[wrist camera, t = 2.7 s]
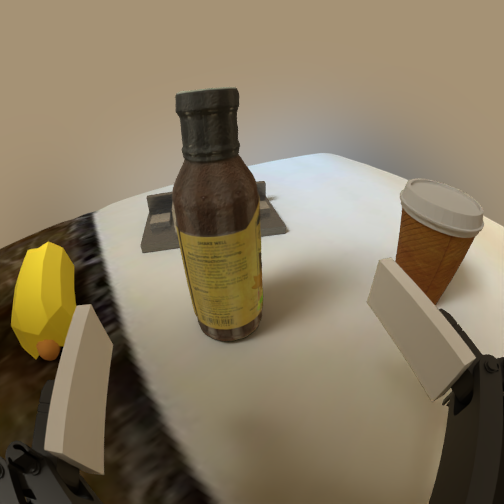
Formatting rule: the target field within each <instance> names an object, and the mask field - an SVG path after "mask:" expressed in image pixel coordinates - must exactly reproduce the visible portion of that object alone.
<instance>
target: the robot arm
mask: <svg viewBox="0 0 504 504" xmlns="http://www.w3.org/2000/svg"><path fill="white" fill-rule="evenodd" d="M367 303H368V305H369V306H370V307H371V309H372V310H373V312H374V313H375V315H376V316H377V317H378V319H379V320H380V322H381V323H382V325H383V326H384V328H385V329H386V331H387V332H388V333H389V335H390V336H391V338H392V339H393V341H394V342H395V344H396V345H397V347H398V348H399V350H400V352H401V353H402V355H403V356H404V358H405V359H406V361H407V362H408V364H409V365H410V367H411V369H412V370H413V372H414V373H415V375H416V377H417V378H418V380H419V381H420V383H421V385H422V386H423V388H424V390H425V391H426V393H427V395H428V396H429V398H430V400H431V401H432V402H433V401H435V400H436V399H438V398H440V397H441V396H443V395H444V394H445V393H446V392H447V391H448V390H449V389H450V388H451V389H452V392H451V393H450V394H449V395H448V396H447V397H446V398H445V399H444V400H443V403H442V405H445V404H446V403H447V402H448V401H449V400H450V401H449V402H448V404H447V405H446V406H449V411H448V419H447V427H446V433H445V440H444V445H443V450H442V455H441V460H440V465H439V469H438V473H437V477H436V481H435V484H434V488H433V491H432V495H431V498H430V501H429V504H504V357H502V358H497V359H496V358H495V357H494V356H492V355H482V354H481V352H480V351H479V350H478V349H477V347H476V346H475V345H474V343H473V342H472V341H471V339H470V338H469V337H468V336H467V334H466V333H465V332H464V331H462V328H461V327H460V326H459V324H457V322H456V321H455V320H454V318H453V317H452V316H451V315H450V314H449V313H447V312H446V311H444V310H443V309H439V310H438V309H437V307H436V306H435V305H434V304H433V303H432V302H431V300H430V299H429V298H428V297H427V296H426V295H425V294H424V292H423V291H422V290H421V289H420V288H419V287H418V286H417V285H416V284H415V282H414V281H413V280H412V279H411V278H410V277H409V276H408V275H407V274H406V273H405V272H404V271H403V270H402V268H401V267H400V266H399V265H398V264H397V263H396V262H395V261H394V260H393V259H392V258H387V259H382V260H379V262H378V266H377V270H376V273H375V277H374V280H373V284H372V287H371V290H370V294H369V297H368V300H367ZM112 349H113V344H112V342H111V340H110V339H109V337H108V335H107V333H106V332H105V330H104V328H103V326H102V324H101V322H100V321H99V319H98V317H97V315H96V313H95V311H94V309H93V307H92V305H91V304H88V305H78V306H76V309H75V312H74V315H73V318H72V321H71V324H70V327H69V330H68V333H67V337H66V340H65V344H64V347H63V351H62V354H61V358H60V362H59V366H58V370H57V374H56V379H55V380H47V382H46V384H45V385H44V387H43V389H42V391H41V396H40V400H39V402H40V404H39V405H38V413H37V416H36V422H35V429H34V436H33V444H32V448H30V447H29V446H27V445H26V444H24V443H22V442H21V441H14V442H12V443H11V444H10V445H9V446H8V448H7V451H6V460H5V459H4V458H2V457H0V504H103V503H102V502H101V501H100V499H99V498H98V497H97V496H96V494H95V493H94V492H93V491H92V489H91V488H90V487H89V485H88V484H87V483H86V481H85V480H84V478H83V477H82V476H81V475H80V474H79V469H80V470H83V471H85V472H87V473H93V474H100V475H104V428H105V411H106V399H107V388H108V379H109V371H110V363H111V356H112ZM24 496H25V497H26V499H27V502H26V500H25V497H24Z"/></svg>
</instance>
